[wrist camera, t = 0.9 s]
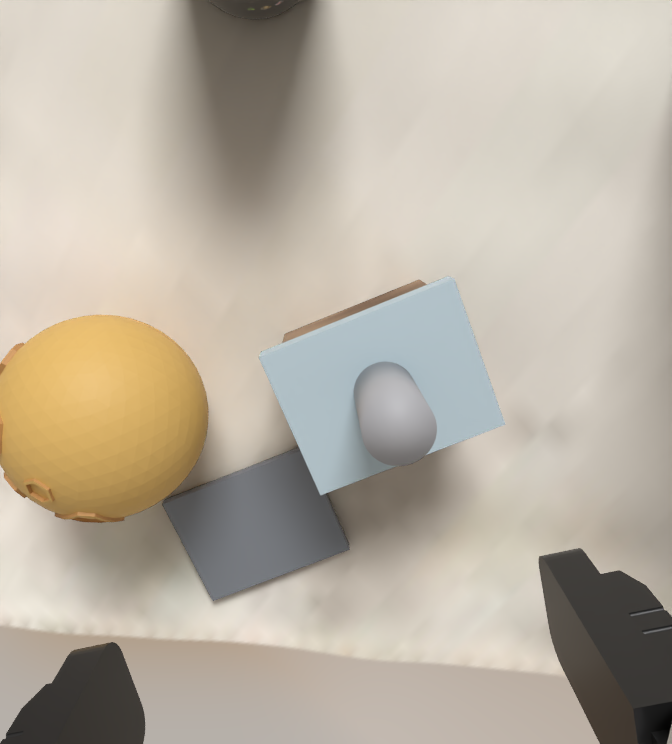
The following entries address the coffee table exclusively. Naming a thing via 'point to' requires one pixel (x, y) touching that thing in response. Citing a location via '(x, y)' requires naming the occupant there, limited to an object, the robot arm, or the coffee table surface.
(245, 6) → the supplement bottle
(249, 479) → the slate mat
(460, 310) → the lid
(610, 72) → the coffee table surface
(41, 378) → the stress ball
